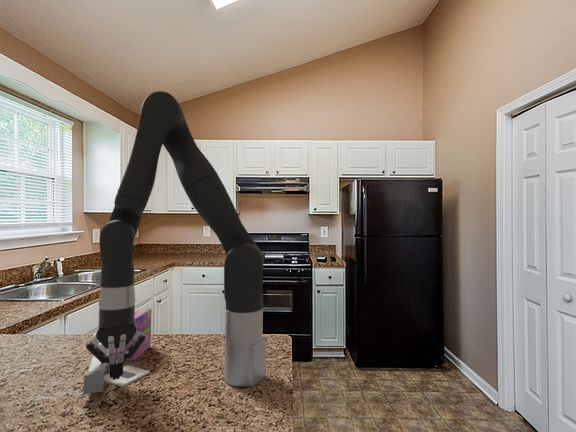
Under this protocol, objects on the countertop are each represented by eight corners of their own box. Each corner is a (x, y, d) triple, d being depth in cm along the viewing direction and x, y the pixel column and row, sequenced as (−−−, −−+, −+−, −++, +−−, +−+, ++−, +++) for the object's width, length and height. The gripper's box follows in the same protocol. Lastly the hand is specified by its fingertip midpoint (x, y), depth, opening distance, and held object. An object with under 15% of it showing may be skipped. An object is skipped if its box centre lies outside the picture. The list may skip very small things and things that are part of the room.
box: (134, 361, 90) (135, 318, 90) (114, 360, 90) (115, 317, 90) (151, 346, 100) (152, 308, 100) (133, 346, 100) (133, 307, 101)
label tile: (149, 372, 83) (149, 370, 83) (122, 386, 76) (122, 384, 76) (127, 366, 86) (127, 364, 86) (99, 379, 79) (99, 377, 79)
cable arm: (92, 361, 86) (92, 338, 86) (111, 358, 88) (111, 336, 88) (81, 395, 69) (82, 366, 69) (105, 390, 71) (105, 363, 71)
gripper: (145, 297, 84) (144, 365, 83) (85, 304, 77) (83, 377, 77) (149, 304, 77) (148, 378, 77) (83, 311, 71) (82, 392, 70)
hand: (116, 377), depth 77 cm, fingers closed
